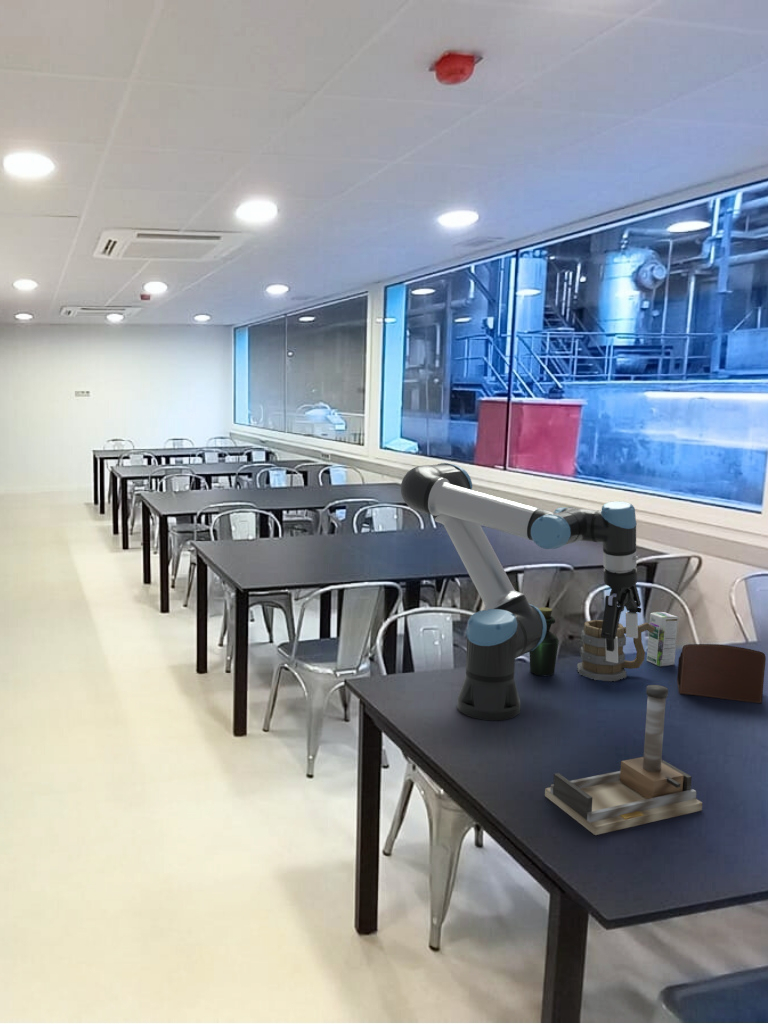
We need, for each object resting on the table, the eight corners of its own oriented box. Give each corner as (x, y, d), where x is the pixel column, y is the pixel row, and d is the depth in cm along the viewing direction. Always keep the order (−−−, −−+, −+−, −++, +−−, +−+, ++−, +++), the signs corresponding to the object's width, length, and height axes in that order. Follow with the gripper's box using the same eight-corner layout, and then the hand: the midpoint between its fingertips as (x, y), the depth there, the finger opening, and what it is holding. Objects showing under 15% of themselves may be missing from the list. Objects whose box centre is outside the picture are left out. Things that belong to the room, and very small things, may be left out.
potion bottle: (544, 666, 229) (547, 604, 226) (563, 674, 222) (566, 611, 219) (521, 670, 225) (524, 607, 222) (539, 679, 218) (543, 614, 215)
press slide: (662, 808, 145) (669, 703, 142) (619, 780, 155) (626, 682, 152) (692, 801, 147) (699, 698, 145) (648, 774, 158) (655, 678, 155)
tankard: (580, 679, 218) (583, 625, 216) (575, 665, 230) (578, 614, 228) (656, 684, 215) (660, 630, 213) (647, 669, 228) (651, 618, 226)
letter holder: (762, 704, 203) (766, 650, 201) (678, 694, 209) (682, 641, 207) (756, 691, 212) (760, 639, 211) (676, 682, 218) (680, 631, 216)
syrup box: (645, 660, 236) (648, 612, 234) (662, 659, 238) (665, 611, 236) (658, 666, 230) (662, 617, 228) (675, 664, 232) (679, 616, 230)
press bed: (595, 835, 138) (596, 805, 138) (544, 795, 152) (546, 768, 151) (701, 810, 148) (703, 782, 147) (645, 775, 162) (647, 749, 161)
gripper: (616, 589, 177) (619, 675, 183) (653, 551, 196) (654, 630, 202) (584, 585, 181) (587, 669, 188) (623, 547, 200) (625, 624, 206)
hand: (622, 649), depth 195 cm, fingers open, 13 cm apart
